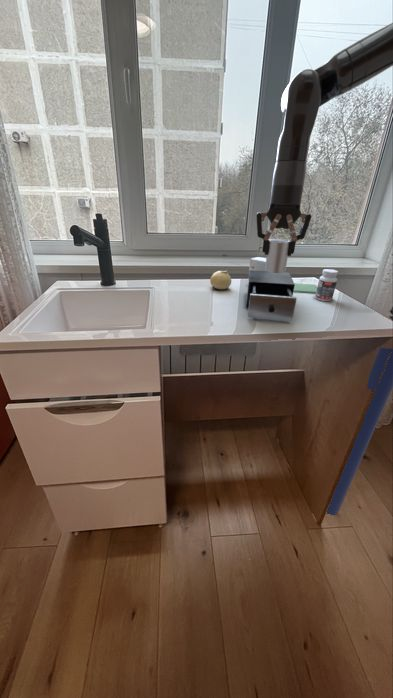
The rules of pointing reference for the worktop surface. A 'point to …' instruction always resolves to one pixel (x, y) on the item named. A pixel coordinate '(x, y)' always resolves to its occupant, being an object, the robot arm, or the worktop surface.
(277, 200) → the robot arm
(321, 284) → the pill bottle
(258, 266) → the small box
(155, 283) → the worktop surface
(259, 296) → the drawer
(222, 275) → the onion
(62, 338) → the worktop surface
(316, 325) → the worktop surface
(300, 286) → the drying pad
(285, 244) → the steel tumbler
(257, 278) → the box
